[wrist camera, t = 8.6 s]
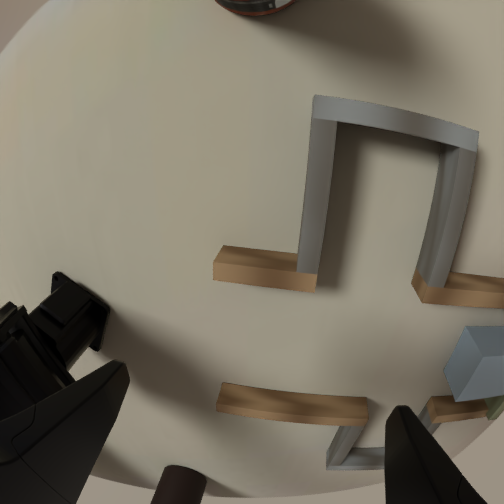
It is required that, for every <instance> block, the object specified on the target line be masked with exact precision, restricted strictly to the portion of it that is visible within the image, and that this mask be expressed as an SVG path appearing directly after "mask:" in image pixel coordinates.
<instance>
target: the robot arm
mask: <svg viewBox="0 0 504 504" xmlns="http://www.w3.org/2000/svg"><path fill="white" fill-rule="evenodd" d="M26 311H27V310H26V308H25V306H24V305H22V306H20V307H17V306H16V305H14V304H13V303H12V302H10V301H9V302H7V303H6V304H5V305H4V306H3V307H1V308H0V504H76V502H77V500H78V498H79V496H80V494H81V491H82V489H83V487H84V485H85V483H86V481H87V478H88V476H89V474H90V472H91V470H92V468H93V466H94V464H95V462H96V460H97V458H98V456H99V453H100V451H101V449H102V447H103V445H104V443H105V441H106V439H107V437H108V435H109V433H110V431H111V429H112V427H113V425H114V423H115V421H116V419H117V416H118V413H119V411H120V408H121V405H122V402H123V400H124V397H125V394H126V391H127V389H128V386H129V383H130V377H129V374H128V370H127V366H126V364H125V363H124V362H122V361H119V360H112V361H111V362H109V363H107V364H105V365H104V366H102V367H100V368H98V369H97V370H95V371H93V372H92V373H90V374H88V375H86V376H85V377H83V378H81V379H79V380H78V381H75V379H74V378H73V377H72V376H71V374H70V373H69V372H68V371H69V370H70V369H71V367H72V366H73V365H74V364H75V362H76V361H77V360H78V359H79V357H80V356H81V355H82V354H83V352H84V351H85V350H86V349H87V348H88V347H90V348H91V349H93V350H94V351H97V352H98V351H99V350H100V349H101V346H102V342H103V337H104V333H105V329H106V325H107V321H108V317H109V313H110V309H109V307H108V306H107V305H106V304H104V303H103V302H101V301H100V300H98V299H97V298H95V297H94V296H92V295H91V294H89V293H88V292H86V291H85V290H83V289H82V288H80V287H79V286H78V285H76V284H75V283H73V282H72V281H71V280H69V279H68V278H66V277H65V276H64V275H62V274H61V273H60V272H55V273H54V274H53V276H52V286H51V294H50V295H49V296H48V297H47V298H46V299H45V300H43V301H42V302H41V303H40V305H39V306H38V307H36V308H35V309H34V310H33V311H32V312H31V313H30V314H29V315H28V313H27V312H26ZM384 471H385V491H386V492H385V493H386V504H487V502H486V501H485V500H484V499H483V498H482V497H481V496H480V495H479V494H478V493H477V492H476V491H475V489H474V488H473V487H472V486H471V485H470V483H469V482H468V481H467V480H466V478H465V477H464V476H463V475H462V473H461V472H460V471H459V469H458V468H457V467H456V465H455V464H454V463H453V462H452V460H451V459H450V458H449V456H448V455H447V454H446V453H445V451H444V450H443V449H442V447H441V446H440V445H439V444H438V442H437V441H436V440H435V439H434V437H433V436H432V435H431V434H430V432H429V431H428V430H427V429H426V427H425V426H424V425H423V424H422V422H421V421H420V420H419V419H418V417H417V416H416V415H415V414H414V412H413V411H412V410H411V409H410V407H408V406H406V405H398V406H396V407H395V408H394V410H393V411H392V413H391V414H390V416H389V417H388V419H387V421H386V427H385V455H384Z"/></svg>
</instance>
